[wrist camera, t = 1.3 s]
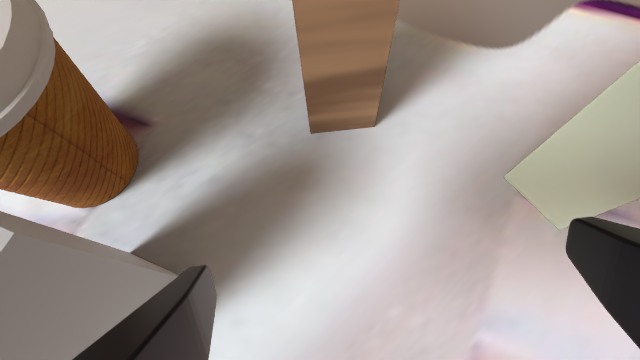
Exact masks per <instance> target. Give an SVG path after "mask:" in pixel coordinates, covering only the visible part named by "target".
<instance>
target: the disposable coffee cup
mask: <svg viewBox="0 0 640 360" xmlns="http://www.w3.org/2000/svg"><path fill="white" fill-rule="evenodd" d="M137 163H138V150H137V146H136V144H135V142H134V139H133V138H132V137H131V135H130V134H129V133H128V132H127V131H126V129H125V128H124V127H123V126H122V124H121V123H120V122H119V120H118V119H117V118H116V116H115V115H114V114H113V113H112V111H111V110H110V109H109V108H108V106H107V105H106V103H105V102H104V101H103V100H102V98H101V97H100V96H99V95H98V93H97V92H96V91H95V90H94V88H93V87H92V86H91V84H90V83H89V82H88V81H87V79H86V78H85V77H84V75H83V74H82V73H81V72H80V70H79V69H78V68H77V66H76V65H75V64H74V63H73V61H72V60H71V59H70V57H69V56H68V55H67V54H66V52H65V51H64V50H63V49H62V47H61V46H60V45H59V43H58V42H57V41H56V40H55V38H54V37H53V32H52V30H51V29H50V27H49V24H48V21H47V18H46V16H45V13H44V11H43V10H42V9H41V7H40V6H39V5H38V3H37V2H36V1H35V0H0V189H1V190H3V189H4V190H5V191H9V192H15V193H18V194H22V195H23V194H24V195H26V196H30V197H35V198H39V199H43V200H47V201H51V202H55V203H59V204H63V205H67V206H71V207H75V208H87V207H94V206H97V205H100V204H103V203H105V202H106V201H108V200H110V199H112V198H114V197H115V196H116V195H118V194H119V193H120V192H121V191H122V190H123V189H124V188H125V187H126V186H127V184H128V183H129V181H130V180H131V178H132V177H133V175H134V173H135V170H136V167H137Z"/></svg>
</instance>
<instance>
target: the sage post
mask: <svg viewBox="0 0 640 360" xmlns="http://www.w3.org/2000/svg"><path fill="white" fill-rule="evenodd" d="M504 178H505V179H506V180H507V181H508V182H509V183H510V184H511V185H512V186H513V187H514V188H516V189H517V190H518V191H519V192H520V193H521V194H522V195H523V196H524V197H525V198H526V199H527V200H528V201H529V202H530V203H531V204H532V205H533V206H535V207H536V208H537V209H538V210H539V211H540V212H541V213H542V214H543V215H544V216H545V217H546V218H547V219H548V220H549V221H550V222H551V223H552V224H554V225H555V226H556V227H557V228H558V229H559V230H561V229H564V228H566V227H569V225H570V222H571V221H572V220H573V219H575V218H581V217H594V216H596V215H599V214H601V213H604V212H606V211H609V210H611V209H614V208H616V207H619V206H621V205H624V204H627V203H629V202H632V201H634V200H637V199H639V198H640V61H639V62H638V63H636V64H635V65H634V66H633V67H632V68H631V69H629V70H628V71H627V72H626V73H625V74H623V75H622V76H621V77H620V78H619V79H618V80H616V81H615V82H614V83H613V84H612V85H611V86H609V87H608V88H607V89H606V90H605V91H604V92H602V93H601V94H600V95H599V96H598V97H596V98H595V99H594V100H593V101H592V102H591V103H589V104H588V105H587V106H586V107H585V108H584V109H582V110H581V111H580V112H579V113H578V114H577V115H575V116H574V117H573V118H572V119H571V120H569V121H568V122H567V123H566V124H565V125H564V126H562V127H561V128H560V129H559V130H558V131H557V132H555V133H554V134H553V135H552V136H551V137H550V138H548V139H547V140H546V141H545V142H544V143H542V144H541V145H540V146H539V147H538V148H537V149H535V150H534V151H533V152H532V153H531V154H530V155H528V156H527V157H526V158H525V159H524V160H523V161H521V162H520V163H519V164H518V165H517V166H515V167H514V168H513V169H512V170H511V171H510V172H508V173H507V174H506V175H505V176H504Z"/></svg>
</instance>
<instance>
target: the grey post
mask: <svg viewBox="0 0 640 360" xmlns="http://www.w3.org/2000/svg"><path fill="white" fill-rule="evenodd" d="M178 276H179V275H178V274H175V273H173V272H171V271H169V270H166V269H164V268H162V267H160V266H158V265H155V264H153V263H151V262H149V261H146V260H144V259H142V258H140V257H138V256H135V255H133V254H131V253H128V252H125V251H122V250H119V249H116V248H113V247H110V246H107V245H103V244H100V243H97V242H94V241H91V240H88V239H85V238H82V237H79V236H76V235H72V234H69V233H66V232H63V231H60V230H57V229H54V228H51V227H48V226H45V225H41V224H38V223H35V222H32V221H29V220H26V219H23V218H20V217H17V216H13V215H10V214H7V213H4V212H1V211H0V360H72V359H73V358H75V357H76V356H77V355H78V354H80V353H81V352H82V351H84V350H85V349H86V348H87V347H89V346H90V345H91V344H92V343H94V342H95V341H96V340H98V339H99V338H100V337H101V336H103V335H104V334H105V333H106V332H108V331H109V330H110V329H112V328H113V327H114V326H115V325H117V324H118V323H119V322H121V321H122V320H123V319H124V318H126V317H127V316H128V315H129V314H131V313H132V312H133V311H135V310H136V309H137V308H138V307H140V306H141V305H142V304H143V303H145V302H146V301H147V300H149V299H150V298H151V297H152V296H154V295H155V294H156V293H157V292H159V291H160V290H161V289H163V288H164V287H165V286H166V285H168V284H169V283H170V282H172V281H173V280H174V279H175V278H177V277H178Z"/></svg>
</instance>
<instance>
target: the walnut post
mask: <svg viewBox="0 0 640 360" xmlns="http://www.w3.org/2000/svg"><path fill="white" fill-rule="evenodd" d="M399 2H400V0H292V3H293V10H294V17H295V24H296V31H297V39H298V46H299V53H300V60H301V67H302V75H303V82H304V89H305V96H306V103H307V111H308V118H309V125H310V132H311V134H312V133H321V132H330V131H340V130H349V129H358V128H367V127H375V123H376V118H377V113H378V108H379V103H380V97H381V92H382V87H383V82H384V77H385V72H386V67H387V62H388V57H389V52H390V47H391V42H392V37H393V32H394V27H395V22H396V17H397V12H398V7H399Z"/></svg>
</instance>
